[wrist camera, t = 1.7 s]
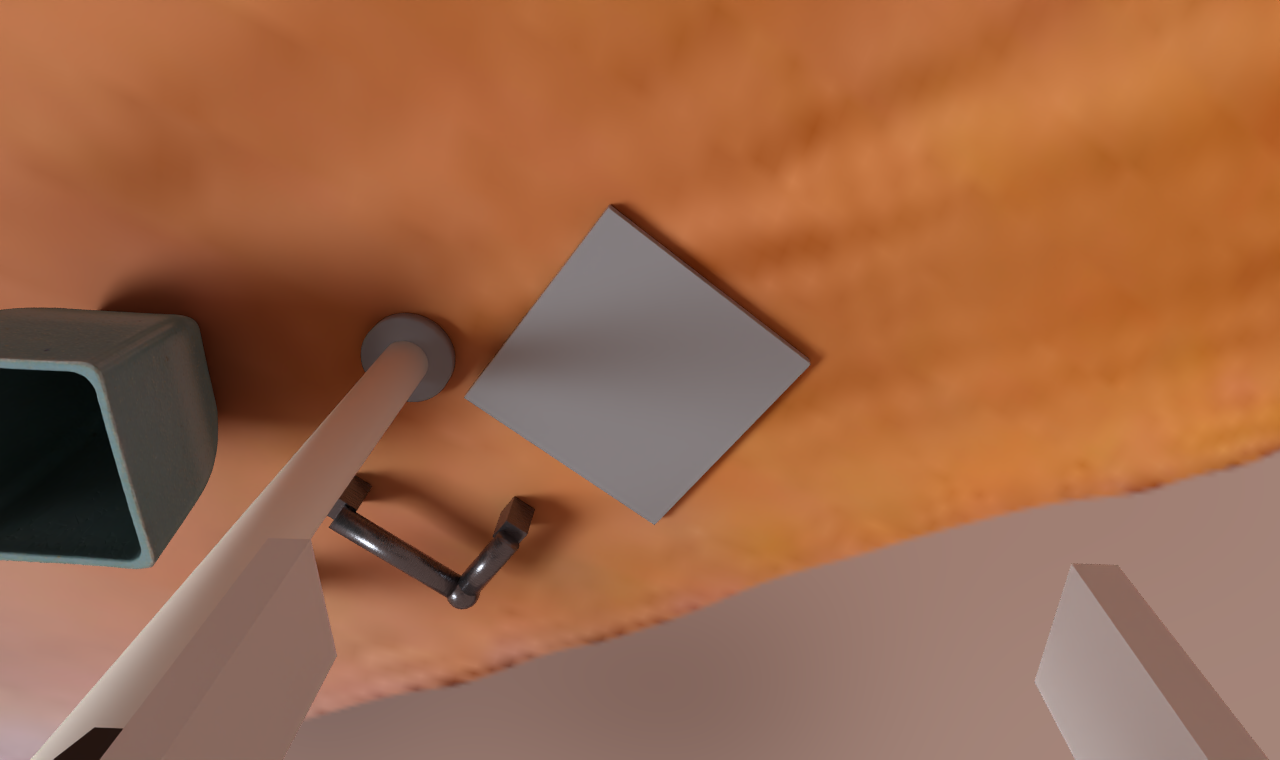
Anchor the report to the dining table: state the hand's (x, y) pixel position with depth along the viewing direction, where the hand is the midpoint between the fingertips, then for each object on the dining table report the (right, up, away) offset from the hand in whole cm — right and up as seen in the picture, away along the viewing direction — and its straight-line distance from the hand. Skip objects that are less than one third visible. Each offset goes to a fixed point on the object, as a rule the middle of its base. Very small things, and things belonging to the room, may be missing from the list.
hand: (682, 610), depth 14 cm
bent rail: (-11, -2, +25) cm, 27 cm away
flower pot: (-23, +5, +22) cm, 33 cm away
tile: (-1, +4, +21) cm, 22 cm away
